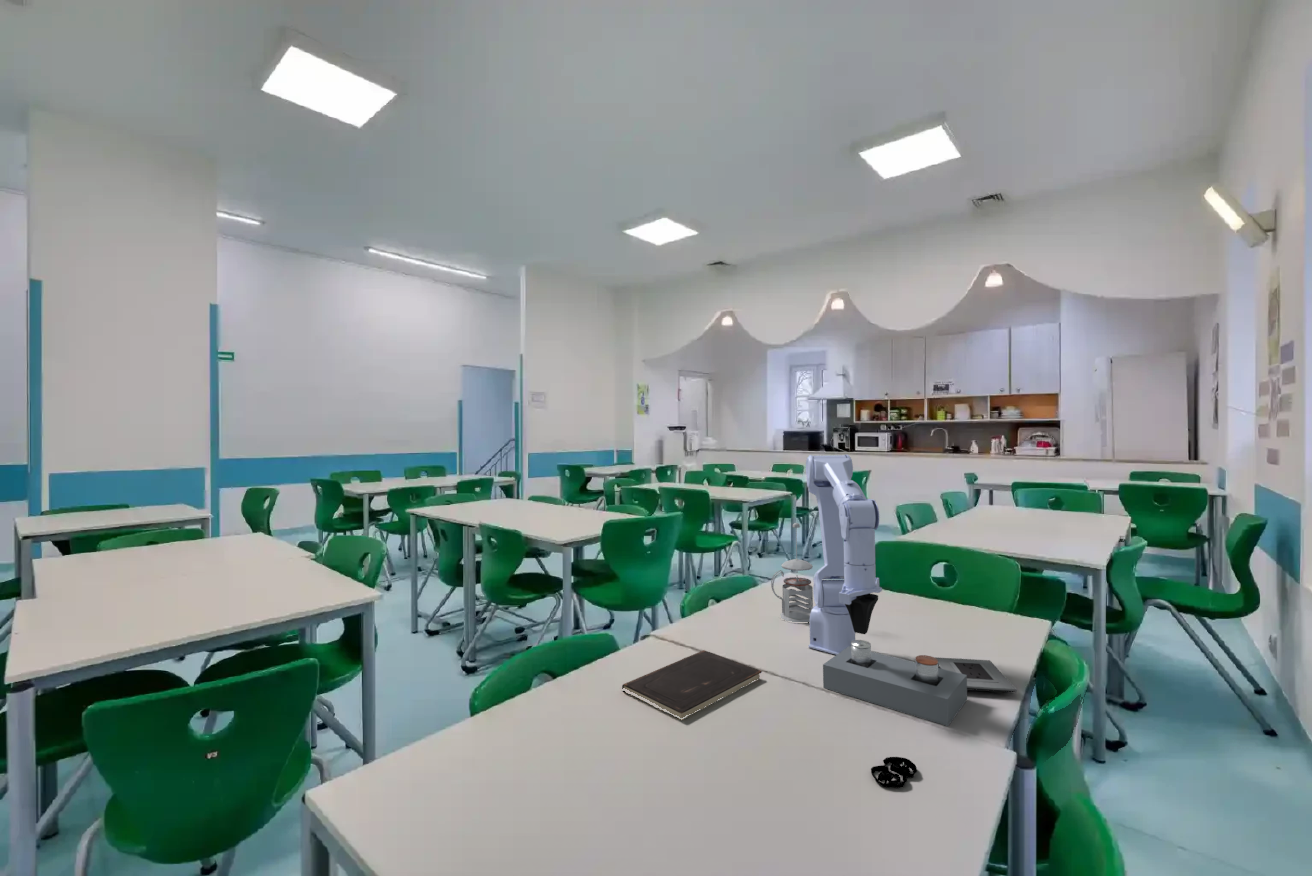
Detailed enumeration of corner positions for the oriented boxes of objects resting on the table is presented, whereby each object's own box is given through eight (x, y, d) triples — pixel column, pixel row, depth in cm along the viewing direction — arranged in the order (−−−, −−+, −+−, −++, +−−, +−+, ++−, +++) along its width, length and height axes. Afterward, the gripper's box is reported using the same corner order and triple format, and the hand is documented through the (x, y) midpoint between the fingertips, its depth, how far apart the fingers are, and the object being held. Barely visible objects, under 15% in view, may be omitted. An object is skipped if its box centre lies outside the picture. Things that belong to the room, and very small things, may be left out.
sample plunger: (848, 668, 110) (848, 644, 110) (856, 662, 112) (855, 638, 112) (866, 673, 107) (866, 648, 107) (874, 667, 110) (873, 642, 110)
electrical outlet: (1016, 700, 103) (1016, 687, 103) (954, 696, 105) (953, 683, 105) (990, 670, 116) (989, 659, 116) (934, 667, 118) (934, 656, 118)
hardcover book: (761, 682, 113) (761, 670, 113) (681, 725, 97) (681, 712, 97) (702, 659, 125) (701, 649, 125) (622, 695, 109) (621, 683, 109)
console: (823, 687, 109) (822, 664, 109) (849, 667, 118) (849, 646, 118) (947, 726, 94) (947, 699, 94) (967, 699, 103) (966, 675, 103)
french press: (821, 623, 144) (820, 525, 144) (776, 624, 144) (774, 526, 144) (811, 611, 154) (810, 519, 154) (769, 611, 154) (767, 520, 154)
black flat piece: (924, 773, 82) (924, 765, 82) (897, 797, 77) (897, 789, 77) (891, 758, 86) (891, 751, 86) (863, 780, 81) (863, 773, 81)
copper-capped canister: (913, 685, 102) (912, 659, 101) (919, 679, 104) (919, 653, 104) (934, 691, 99) (934, 665, 99) (940, 684, 102) (940, 658, 102)
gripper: (865, 573, 101) (866, 648, 102) (894, 558, 112) (895, 626, 112) (827, 567, 106) (829, 639, 106) (859, 553, 117) (860, 619, 117)
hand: (860, 632), depth 110 cm, fingers closed
